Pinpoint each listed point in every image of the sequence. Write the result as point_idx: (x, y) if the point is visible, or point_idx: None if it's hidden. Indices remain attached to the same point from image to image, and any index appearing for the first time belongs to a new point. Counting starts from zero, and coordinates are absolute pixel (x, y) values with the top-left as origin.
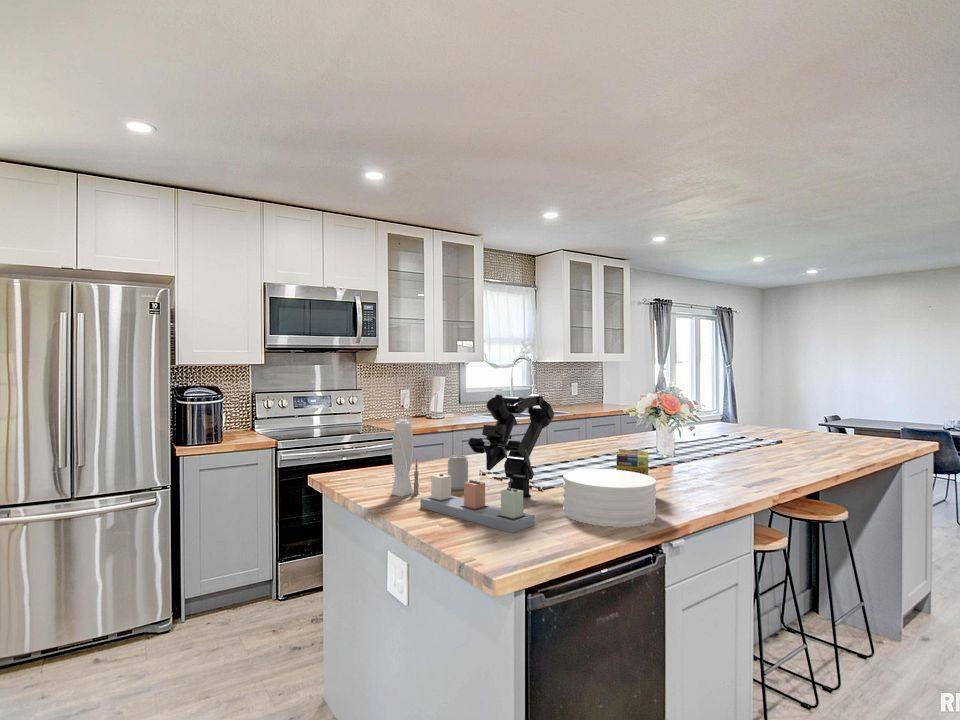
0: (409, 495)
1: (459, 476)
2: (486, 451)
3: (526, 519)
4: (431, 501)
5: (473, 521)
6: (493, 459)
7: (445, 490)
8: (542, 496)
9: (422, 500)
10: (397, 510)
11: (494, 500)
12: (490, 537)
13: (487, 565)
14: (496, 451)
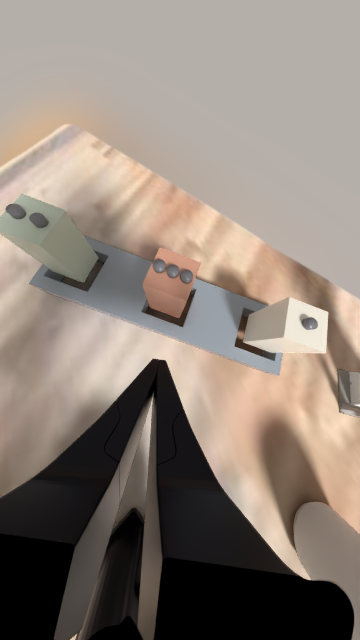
0: (344, 387)
1: (343, 558)
2: (213, 493)
3: None
4: (260, 303)
5: None
6: (117, 399)
7: (258, 322)
8: None
9: None
10: (292, 289)
11: None
12: (108, 218)
13: (85, 144)
14: (32, 497)
